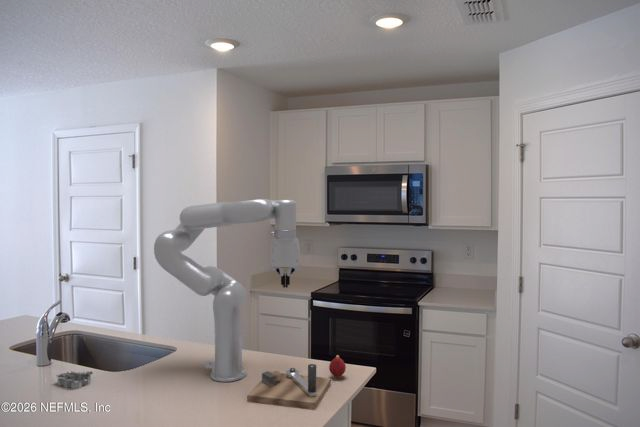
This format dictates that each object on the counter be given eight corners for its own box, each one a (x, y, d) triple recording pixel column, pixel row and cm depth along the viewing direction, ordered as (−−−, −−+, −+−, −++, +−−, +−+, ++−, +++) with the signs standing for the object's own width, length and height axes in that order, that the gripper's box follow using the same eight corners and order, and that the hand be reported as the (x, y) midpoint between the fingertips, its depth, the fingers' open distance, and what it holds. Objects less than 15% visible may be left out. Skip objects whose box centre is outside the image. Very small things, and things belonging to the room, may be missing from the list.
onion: (344, 381, 161) (344, 358, 160) (327, 380, 162) (327, 357, 162) (346, 375, 166) (346, 353, 166) (330, 374, 168) (330, 352, 167)
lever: (284, 374, 161) (284, 348, 161) (296, 372, 163) (296, 346, 163) (307, 397, 142) (307, 367, 142) (320, 395, 144) (320, 365, 144)
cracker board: (247, 401, 145) (247, 383, 145) (270, 377, 164) (270, 361, 164) (315, 409, 139) (315, 391, 139) (330, 384, 159) (330, 367, 158)
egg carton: (94, 383, 159) (94, 371, 159) (73, 391, 153) (73, 379, 152) (74, 377, 164) (74, 366, 164) (53, 385, 158) (53, 373, 157)
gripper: (263, 235, 159) (263, 289, 160) (307, 235, 160) (306, 288, 161) (264, 234, 167) (264, 285, 167) (306, 234, 168) (306, 284, 168)
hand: (285, 286), depth 164 cm, fingers closed
